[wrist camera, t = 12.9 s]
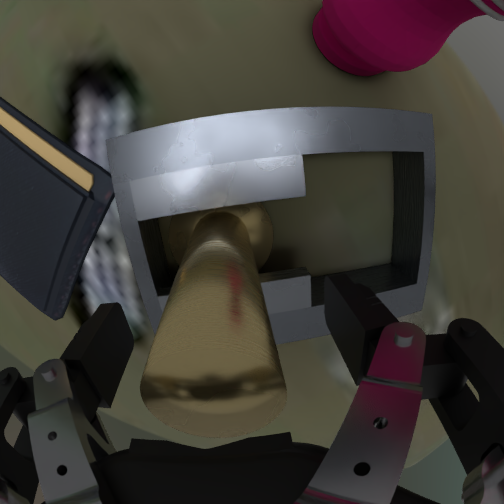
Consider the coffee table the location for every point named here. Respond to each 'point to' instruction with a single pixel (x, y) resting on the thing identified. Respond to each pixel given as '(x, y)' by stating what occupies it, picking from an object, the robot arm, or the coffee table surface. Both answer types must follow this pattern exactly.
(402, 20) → the pepper mill
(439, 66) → the coffee table surface
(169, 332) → the bolt
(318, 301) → the keyhole plate
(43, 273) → the wallet
